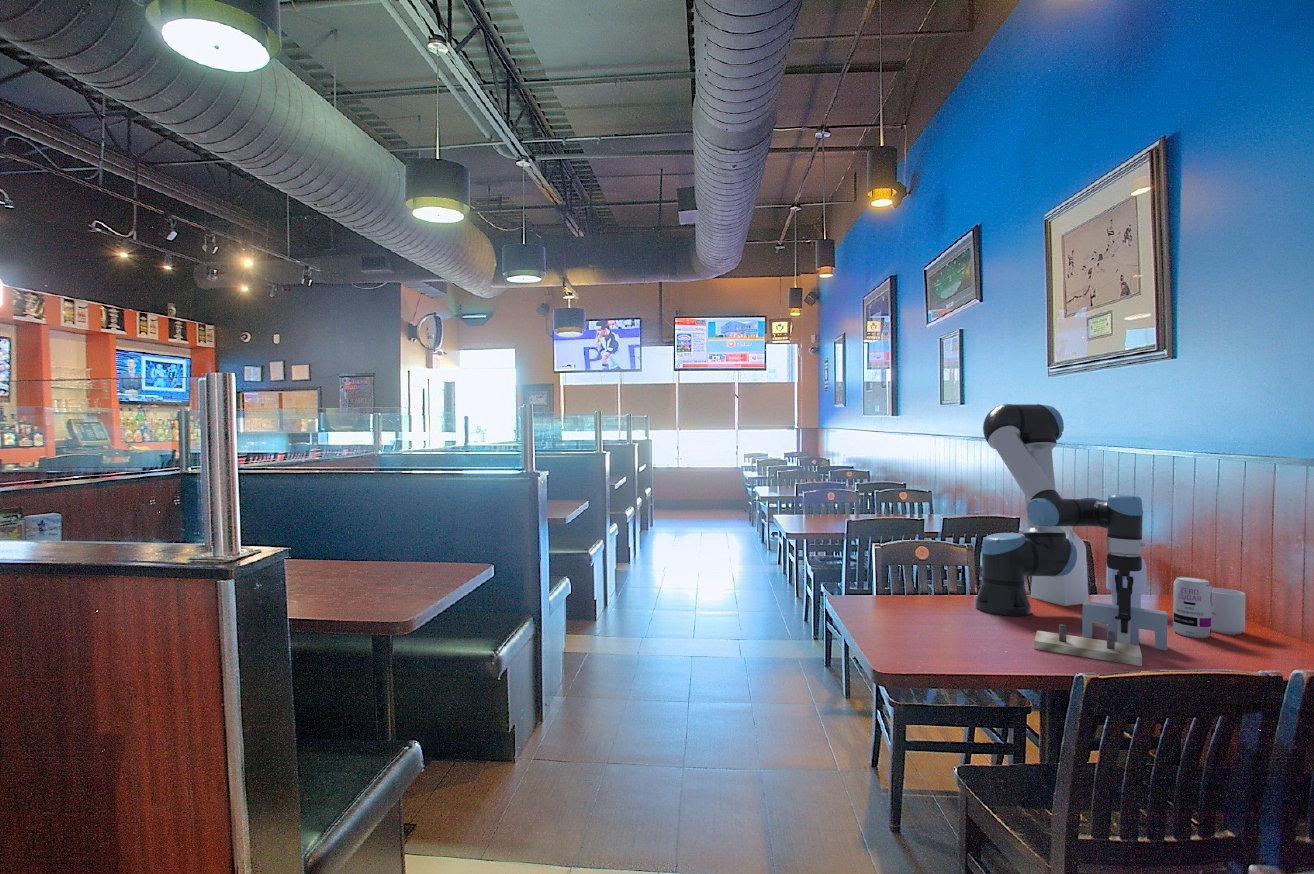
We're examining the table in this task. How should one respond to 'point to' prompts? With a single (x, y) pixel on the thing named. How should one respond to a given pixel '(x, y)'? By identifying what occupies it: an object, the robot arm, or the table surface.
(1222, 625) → the mug
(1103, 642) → the pegged base plate
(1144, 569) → the soap bottle
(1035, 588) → the milk
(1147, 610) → the notched panel
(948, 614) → the table surface
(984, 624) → the table surface
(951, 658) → the table surface
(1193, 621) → the supplement can
